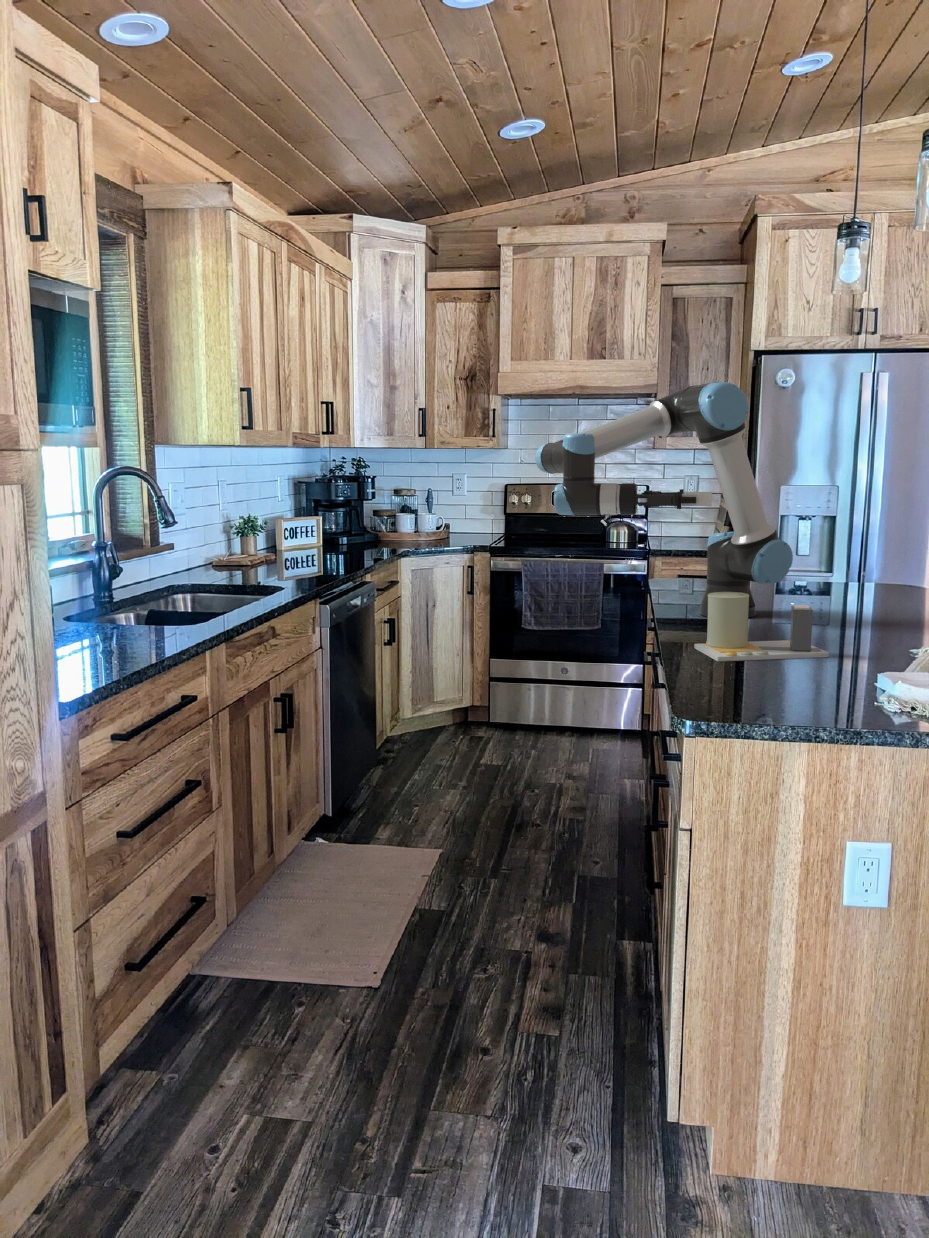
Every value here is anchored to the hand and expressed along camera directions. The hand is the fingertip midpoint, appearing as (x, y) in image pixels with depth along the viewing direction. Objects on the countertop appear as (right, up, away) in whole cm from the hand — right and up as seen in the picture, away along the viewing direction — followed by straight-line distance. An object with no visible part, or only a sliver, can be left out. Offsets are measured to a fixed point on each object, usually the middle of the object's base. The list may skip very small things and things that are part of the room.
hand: (711, 498), depth 220 cm
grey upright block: (+17, -35, -10) cm, 40 cm away
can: (+3, -34, -4) cm, 34 cm away
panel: (+9, -36, -7) cm, 37 cm away
